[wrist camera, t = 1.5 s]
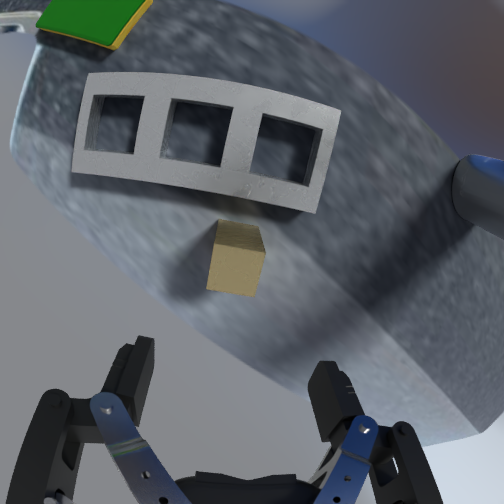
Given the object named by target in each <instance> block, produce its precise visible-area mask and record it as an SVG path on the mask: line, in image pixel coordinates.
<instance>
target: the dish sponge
mask: <svg viewBox="0 0 504 504" xmlns="http://www.w3.org/2000/svg"><path fill="white" fill-rule="evenodd" d="M152 3H153V0H52V1H51V3H50V4H49V5H48V7H47V8H46V10H45V11H44V12H43V14H42V15H41V17H40V18H39V20H38V22H37V23H36V27H37V28H39V29H42V30H45V31H49V32H53V33H58V34H62V35H66V36H69V37H73V38H77V39H80V40H84V41H87V42H90V43H93V44H96V45H100V46H103V47H106V48H108V49H111V50H115V49H118V47H119V46H120V44H121V43H122V42H123V40H124V39H125V37H126V36H127V35H128V33H129V32H130V30H131V29H132V28H133V26H134V25H135V24H136V22H137V21H138V20H139V19H140V17H141V16H142V15H143V14H144V12H145V11H146V10H147V9H148V8H149V6H150V5H151V4H152Z"/></svg>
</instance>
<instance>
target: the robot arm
mask: <svg viewBox="0 0 504 504" xmlns="http://www.w3.org/2000/svg"><path fill="white" fill-rule="evenodd" d="M452 198H453V203H454V206H455V209H456V211H457V213H458V214H459V216H460V217H462V218H463V219H465V220H467V221H469V222H471V223H473V224H475V225H477V226H479V227H481V228H483V229H484V230H486V231H488V232H490V233H492V234H494V235H496V236H498V237H500V238H501V239H503V240H504V161H503V160H499V159H494V158H490V157H485V156H480V155H475V154H470V155H467V156H465V157H464V158H463V159H462V160H461V161H460V163H459V164H458V166H457V168H456V171H455V174H454V177H453V183H452ZM153 369H154V339H153V338H149V337H144V336H138V338H137V340H136V342H135V345H131V344H127V343H126V344H125V345H124V346H123V347H122V348H120V349H119V351H118V353H117V355H116V358H115V360H114V362H113V365H112V367H111V369H110V371H109V374H108V376H107V378H106V381H105V383H104V386H103V388H102V390H101V392H100V393H98V394H96V395H94V396H93V397H92V398H89V399H76V398H70V397H69V396H68V394H67V393H66V392H64V391H62V390H59V389H51V390H48V391H46V392H45V393H44V394H43V395H42V397H41V399H40V401H39V404H38V406H37V408H36V411H35V413H34V415H33V418H32V421H31V423H30V425H29V428H28V431H27V433H26V436H25V439H24V441H23V444H22V447H21V450H20V453H19V456H18V459H17V462H16V465H15V469H14V472H13V476H12V479H11V483H10V487H9V491H8V496H7V500H6V504H75V503H74V502H73V501H72V500H73V494H74V488H75V483H76V478H77V473H78V469H79V464H80V460H81V455H82V451H83V447H84V443H105V445H106V447H107V449H108V451H109V453H110V455H111V457H112V459H113V461H114V463H115V465H116V466H117V468H118V470H119V472H120V474H121V476H122V477H123V479H124V481H125V482H126V484H127V486H128V487H129V489H130V491H131V492H132V494H133V495H134V497H135V498H136V500H137V501H138V503H139V504H355V502H356V499H357V497H358V495H359V493H360V491H361V488H362V486H363V484H364V481H365V479H366V476H367V474H368V473H369V477H370V480H371V484H372V488H373V492H374V495H375V500H376V503H377V504H443V501H442V499H441V495H440V492H439V490H438V487H437V484H436V482H435V479H434V477H433V474H432V471H431V469H430V466H429V464H428V461H427V459H426V456H425V454H424V451H423V449H422V447H421V444H420V442H419V440H418V437H417V435H416V433H415V430H414V428H413V427H412V426H411V425H410V424H409V423H407V422H404V421H399V422H397V423H395V424H394V425H393V426H392V427H387V426H380V425H378V424H377V422H376V421H375V420H374V419H373V418H371V417H369V416H366V415H365V414H364V411H363V409H362V407H361V404H360V402H359V400H358V397H357V395H356V393H355V390H354V388H353V387H352V383H351V381H350V379H349V377H348V376H347V375H346V374H345V373H344V372H343V371H339V369H338V366H337V364H336V362H335V361H319V363H318V364H317V366H316V368H315V370H314V372H313V374H312V376H311V378H310V380H309V383H308V393H309V397H310V400H311V404H312V407H313V411H314V414H315V418H316V422H317V425H318V429H319V433H320V437H321V440H322V442H331V446H330V447H329V449H328V451H327V452H326V454H325V456H324V458H323V460H322V461H321V463H320V465H319V467H318V468H317V470H316V472H315V473H314V475H313V476H312V477H311V478H310V479H309V481H308V482H305V481H301V480H297V479H296V474H286V475H271V476H267V477H263V478H258V479H253V480H243V479H239V478H236V477H232V476H228V475H224V474H218V473H208V472H199V471H196V474H195V476H191V477H185V478H181V479H178V480H176V481H174V480H173V479H172V478H171V476H170V475H169V474H168V472H167V471H166V470H165V468H164V467H163V465H162V464H161V462H160V461H159V459H158V458H157V456H156V455H155V453H154V452H153V450H152V449H151V447H150V446H149V444H148V443H147V442H146V440H143V439H142V437H141V436H140V434H139V432H138V430H137V429H136V427H135V426H137V427H139V424H140V420H141V415H142V411H143V407H144V404H145V400H146V396H147V392H148V388H149V385H150V381H151V377H152V374H153ZM393 457H394V458H395V461H396V464H397V467H398V473H397V470H396V467H395V464H394V461H393V459H392V458H393Z"/></svg>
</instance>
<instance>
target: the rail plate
mask: <svg viewBox="0 0 504 504" xmlns="http://www.w3.org/2000/svg"><path fill="white" fill-rule="evenodd" d="M104 98H135V99H144V103H143V107H142V112H141V116H140V121H139V127H138V132H137V137H136V143H135V149H134V153H133V152H124V151H114V150H103V149H95V148H96V141H97V135H98V129H99V123H100V118H101V112H102V107H103V103H104ZM177 102H182V103H190V104H198V105H205V106H211V107H217V108H223V109H229V110H233V112H232V117H231V121H230V125H229V130H228V134H227V139H226V143H225V148H224V153H223V157H222V162H221V165H215V164H210V163H204V162H198V161H192V160H186V159H179V158H172V157H166V154H167V149H168V143H169V138H170V133H171V128H172V123H173V119H174V114H175V109H176V105H177ZM340 114H341V111H340V110H338V109H335V108H332V107H329V106H326V105H323V104H320V103H317V102H313V101H310V100H307V99H303V98H300V97H296V96H293V95H289V94H285V93H281V92H277V91H273V90H269V89H265V88H260V87H256V86H251V85H246V84H241V83H236V82H230V81H224V80H218V79H211V78H204V77H196V76H187V75H176V74H163V73H142V72H105V73H89V74H88V77H87V81H86V85H85V90H84V94H83V98H82V103H81V108H80V113H79V119H78V124H77V131H76V137H75V145H74V153H73V162H72V172H75V173H85V174H94V175H102V176H110V177H118V178H126V179H133V180H140V181H147V182H154V183H161V184H167V185H173V186H179V187H186V188H191V189H197V190H203V191H209V192H214V193H219V194H225V195H230V196H235V197H240V198H245V199H250V200H255V201H260V202H265V203H270V204H274V205H279V206H284V207H288V208H293V209H297V210H302V211H306V212H310V213H314V214H315V213H316V209H317V206H318V202H319V198H320V195H321V191H322V187H323V184H324V180H325V176H326V172H327V168H328V164H329V160H330V156H331V152H332V148H333V144H334V140H335V136H336V131H337V127H338V123H339V118H340ZM262 116H263V117H268V118H272V119H276V120H280V121H284V122H288V123H292V124H295V125H299V126H303V127H306V128H310V129H313V130H315V134H314V139H313V143H312V147H311V151H310V155H309V159H308V163H307V167H306V171H305V175H304V179H303V183H300V182H296V181H291V180H287V179H283V178H279V177H274V176H270V175H265V174H261V173H256V172H251V171H249V170H250V166H251V161H252V157H253V153H254V148H255V144H256V139H257V135H258V131H259V127H260V122H261V118H262Z"/></svg>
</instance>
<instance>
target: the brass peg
mask: <svg viewBox="0 0 504 504" xmlns="http://www.w3.org/2000/svg"><path fill="white" fill-rule="evenodd" d="M265 254H266V252H265V248H264V245H263V241H262V238H261V234H260V230H259V227H258V226H254V225H248V224H243V223H238V222H233V221H227V220H222V219H219V222H218V227H217V232H216V237H215V242H214V247H213V253H212V258H211V264H210V270H209V276H208V282H207V288H206V289H209V290H214V291H220V292H226V293H232V294H238V295H244V296H251V297H255V293H256V289H257V285H258V281H259V277H260V274H261V270H262V266H263V262H264V258H265Z"/></svg>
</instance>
